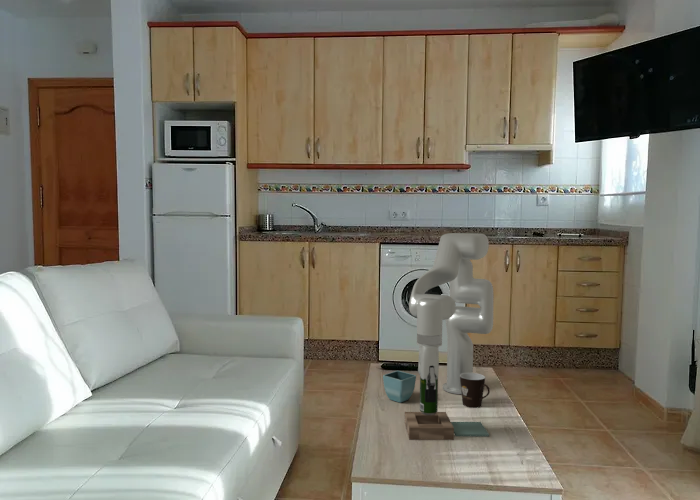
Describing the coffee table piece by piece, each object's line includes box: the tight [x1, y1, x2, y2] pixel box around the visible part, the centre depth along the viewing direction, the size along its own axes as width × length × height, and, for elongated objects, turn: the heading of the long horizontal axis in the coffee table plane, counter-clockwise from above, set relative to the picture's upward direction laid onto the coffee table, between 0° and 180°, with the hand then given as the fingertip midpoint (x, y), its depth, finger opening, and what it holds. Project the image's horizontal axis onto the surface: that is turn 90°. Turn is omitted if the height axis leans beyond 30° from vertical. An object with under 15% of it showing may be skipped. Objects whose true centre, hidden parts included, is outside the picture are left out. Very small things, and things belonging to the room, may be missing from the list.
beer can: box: [419, 375, 439, 415], centre depth 161 cm, size 5×5×12 cm
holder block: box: [403, 411, 455, 441], centre depth 161 cm, size 13×13×4 cm
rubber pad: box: [451, 421, 490, 437], centre depth 162 cm, size 10×10×1 cm
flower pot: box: [382, 370, 417, 403], centre depth 189 cm, size 9×9×9 cm
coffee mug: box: [460, 372, 490, 409], centre depth 183 cm, size 12×9×10 cm
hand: (428, 397), depth 161 cm, fingers closed on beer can, 5 cm apart
